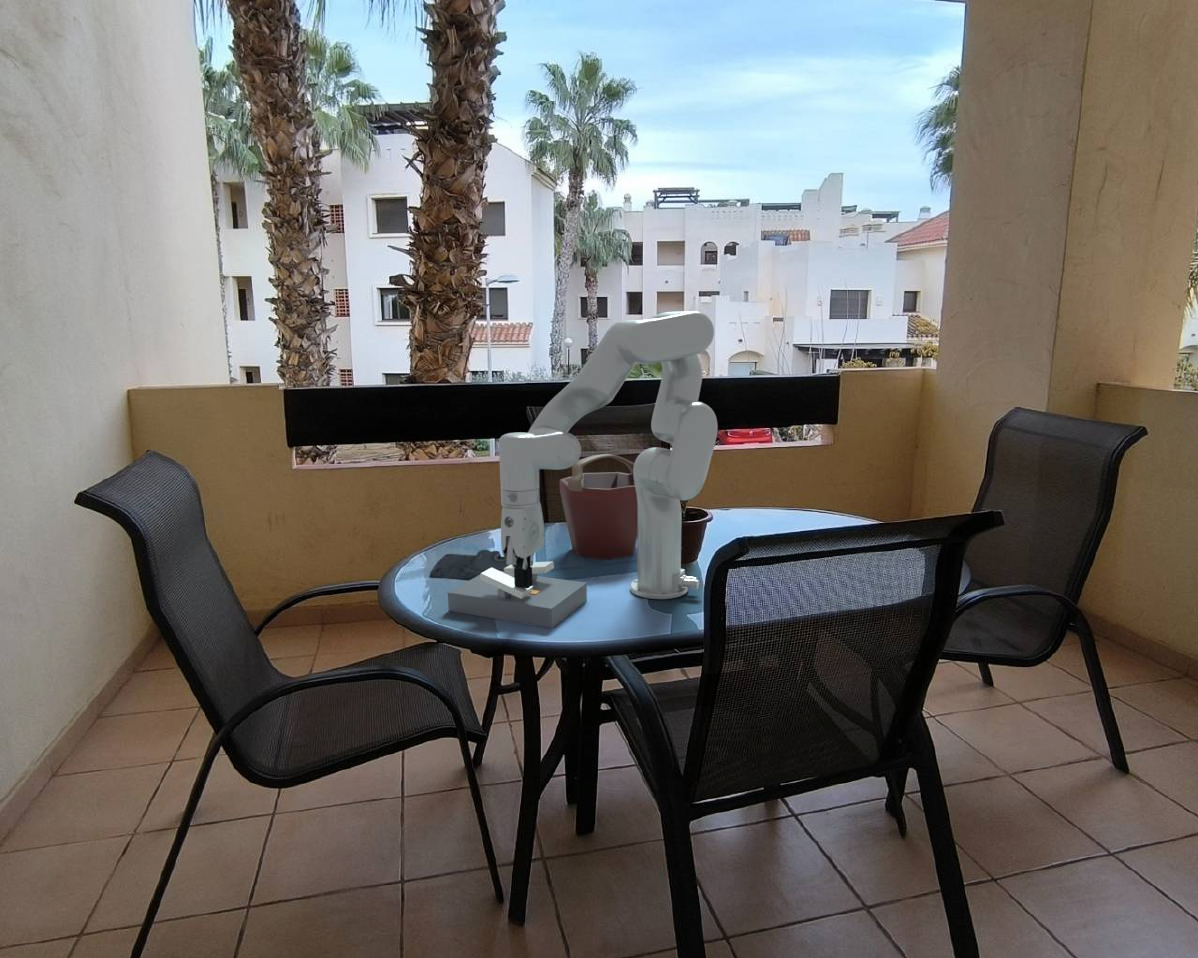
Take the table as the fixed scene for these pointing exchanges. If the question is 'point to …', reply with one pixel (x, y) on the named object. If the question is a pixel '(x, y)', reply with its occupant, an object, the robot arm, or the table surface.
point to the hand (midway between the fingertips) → (523, 586)
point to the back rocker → (533, 568)
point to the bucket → (600, 510)
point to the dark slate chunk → (468, 565)
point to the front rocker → (504, 582)
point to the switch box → (520, 601)
